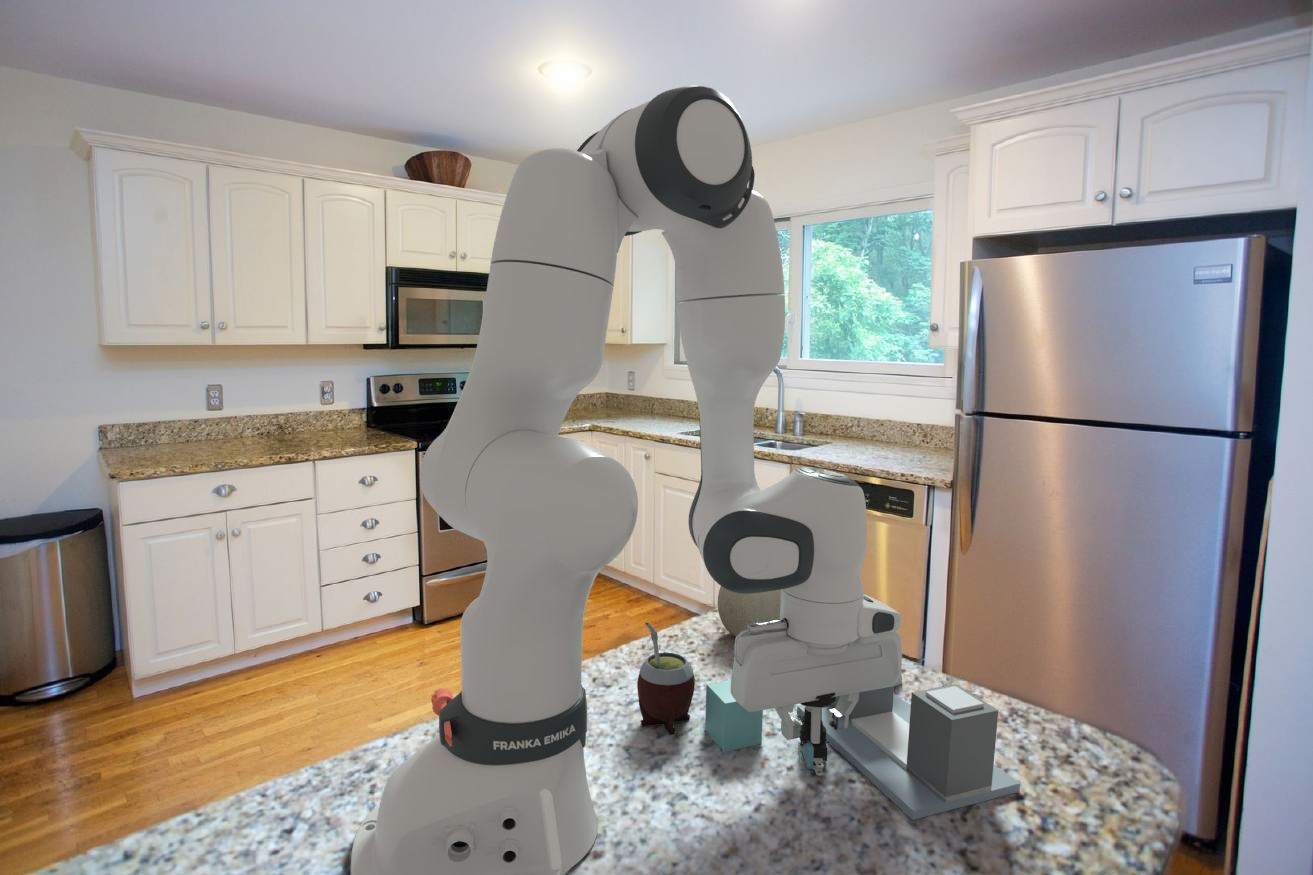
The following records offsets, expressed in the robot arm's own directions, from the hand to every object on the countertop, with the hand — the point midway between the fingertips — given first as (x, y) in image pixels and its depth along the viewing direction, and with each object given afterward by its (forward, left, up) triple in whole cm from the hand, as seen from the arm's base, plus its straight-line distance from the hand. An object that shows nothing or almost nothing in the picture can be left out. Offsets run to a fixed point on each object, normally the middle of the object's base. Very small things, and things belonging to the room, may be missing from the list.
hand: (814, 731), depth 82 cm
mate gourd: (-13, +13, -4) cm, 19 cm away
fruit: (+9, +33, -4) cm, 34 cm away
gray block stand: (+11, -1, -4) cm, 12 cm away
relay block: (-6, +8, +2) cm, 10 cm away
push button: (0, 0, -4) cm, 4 cm away
